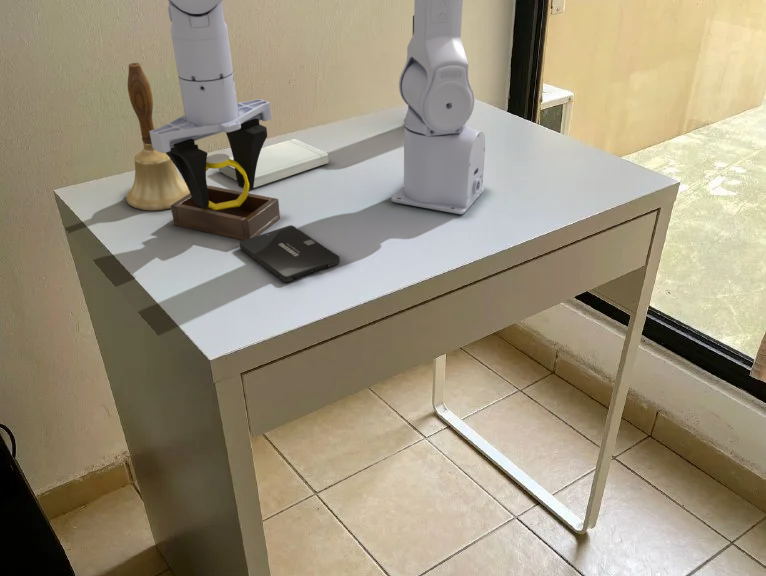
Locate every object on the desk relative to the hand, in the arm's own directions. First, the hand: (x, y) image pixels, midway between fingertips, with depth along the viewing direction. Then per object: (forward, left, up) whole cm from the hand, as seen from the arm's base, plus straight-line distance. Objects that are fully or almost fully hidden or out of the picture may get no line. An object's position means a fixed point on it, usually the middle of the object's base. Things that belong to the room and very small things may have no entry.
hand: (223, 196), depth 90 cm
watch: (0, 0, -2) cm, 2 cm away
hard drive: (+4, -16, -3) cm, 17 cm away
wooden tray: (0, 0, -3) cm, 3 cm away
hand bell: (+12, -3, -3) cm, 13 cm away
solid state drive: (-11, +5, -3) cm, 12 cm away
